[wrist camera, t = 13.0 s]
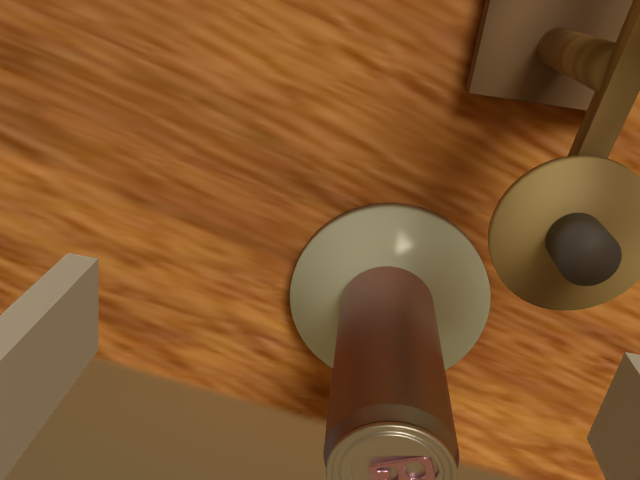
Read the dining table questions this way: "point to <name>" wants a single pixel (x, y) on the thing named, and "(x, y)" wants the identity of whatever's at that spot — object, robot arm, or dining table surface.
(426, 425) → the beverage can
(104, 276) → the dining table surface
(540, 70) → the balance
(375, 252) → the dish
